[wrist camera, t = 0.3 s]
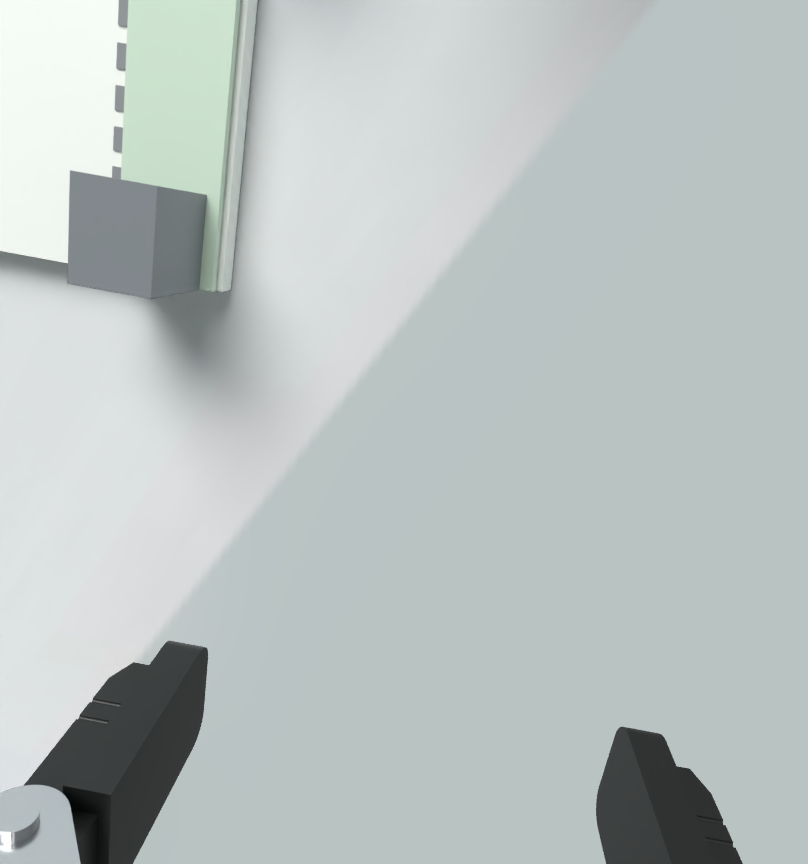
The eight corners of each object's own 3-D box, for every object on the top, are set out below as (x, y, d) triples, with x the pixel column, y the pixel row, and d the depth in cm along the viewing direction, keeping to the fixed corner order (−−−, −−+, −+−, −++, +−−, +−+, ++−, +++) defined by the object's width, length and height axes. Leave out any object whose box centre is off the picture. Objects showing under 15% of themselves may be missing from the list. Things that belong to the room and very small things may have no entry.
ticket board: (-188, -100, 34) (-218, -115, 33) (259, -23, 34) (250, -35, 32) (-163, 217, 39) (-188, 216, 38) (230, 289, 38) (221, 291, 37)
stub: (136, -55, 32) (58, -127, 26) (244, -37, 32) (191, -105, 26) (122, 273, 37) (52, 280, 31) (215, 291, 37) (165, 301, 31)
